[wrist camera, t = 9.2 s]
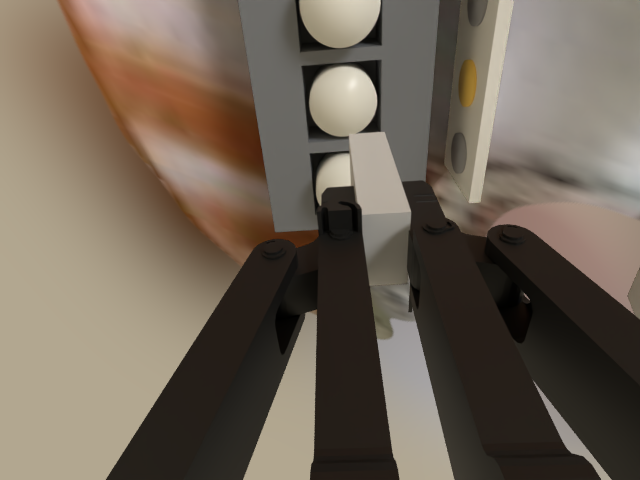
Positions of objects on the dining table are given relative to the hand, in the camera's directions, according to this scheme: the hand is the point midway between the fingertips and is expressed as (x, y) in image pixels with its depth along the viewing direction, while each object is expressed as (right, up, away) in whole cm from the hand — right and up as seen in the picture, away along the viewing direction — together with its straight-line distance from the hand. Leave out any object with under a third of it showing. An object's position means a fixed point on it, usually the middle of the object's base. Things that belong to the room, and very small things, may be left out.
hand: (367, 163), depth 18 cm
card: (+8, +12, +12) cm, 18 cm away
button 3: (0, +8, +12) cm, 15 cm away
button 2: (-1, +12, +8) cm, 14 cm away
